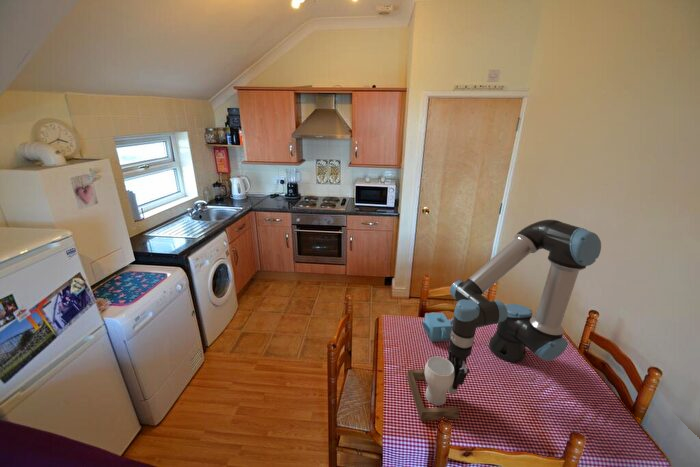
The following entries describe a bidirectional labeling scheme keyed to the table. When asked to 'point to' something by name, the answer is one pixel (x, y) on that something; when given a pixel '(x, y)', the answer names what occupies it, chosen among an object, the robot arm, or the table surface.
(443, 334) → the teapot
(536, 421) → the table surface
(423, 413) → the wooden u-shaped bracket
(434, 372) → the cup
